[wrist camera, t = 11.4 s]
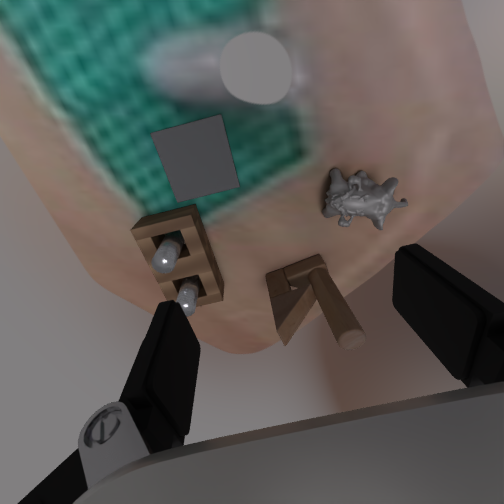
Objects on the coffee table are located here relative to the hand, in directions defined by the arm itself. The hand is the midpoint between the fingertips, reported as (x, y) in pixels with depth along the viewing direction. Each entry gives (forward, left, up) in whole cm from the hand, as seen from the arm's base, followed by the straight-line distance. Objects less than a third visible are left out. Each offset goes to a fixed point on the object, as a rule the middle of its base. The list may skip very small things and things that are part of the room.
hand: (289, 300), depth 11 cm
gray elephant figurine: (+7, +16, -31) cm, 35 cm away
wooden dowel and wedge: (+20, +4, -31) cm, 37 cm away
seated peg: (+15, -14, -30) cm, 37 cm away
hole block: (+11, -14, -30) cm, 35 cm away
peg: (+7, -14, -30) cm, 34 cm away
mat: (-3, -7, -30) cm, 31 cm away
